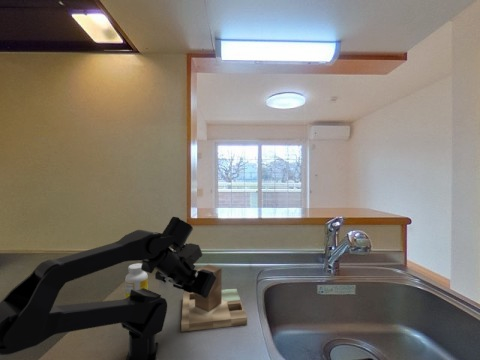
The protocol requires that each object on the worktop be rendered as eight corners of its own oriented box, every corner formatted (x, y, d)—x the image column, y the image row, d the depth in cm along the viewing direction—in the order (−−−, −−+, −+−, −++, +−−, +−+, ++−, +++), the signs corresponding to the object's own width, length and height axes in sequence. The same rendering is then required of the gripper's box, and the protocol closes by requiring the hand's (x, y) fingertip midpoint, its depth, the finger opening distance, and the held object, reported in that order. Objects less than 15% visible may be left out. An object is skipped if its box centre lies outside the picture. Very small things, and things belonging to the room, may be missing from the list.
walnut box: (208, 312, 74) (208, 274, 73) (194, 306, 77) (194, 270, 77) (221, 303, 79) (221, 268, 78) (208, 298, 82) (208, 264, 82)
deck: (247, 324, 71) (247, 317, 71) (181, 331, 68) (181, 324, 68) (236, 294, 89) (236, 288, 89) (183, 299, 85) (183, 293, 85)
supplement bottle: (147, 298, 86) (147, 261, 85) (148, 308, 79) (148, 267, 79) (126, 302, 83) (125, 263, 83) (124, 312, 77) (124, 270, 77)
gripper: (211, 242, 64) (236, 271, 74) (163, 232, 75) (190, 258, 84) (188, 284, 58) (219, 310, 67) (139, 267, 68) (172, 291, 78)
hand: (199, 289), depth 74 cm, fingers closed
